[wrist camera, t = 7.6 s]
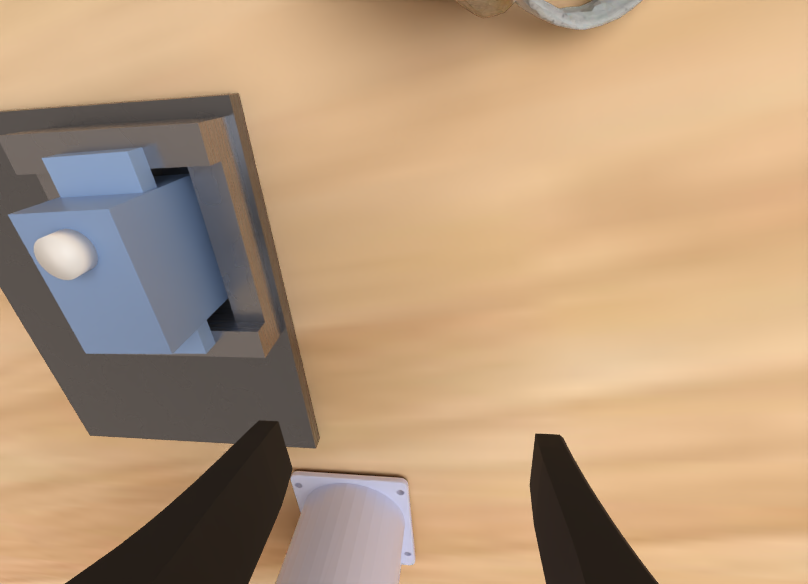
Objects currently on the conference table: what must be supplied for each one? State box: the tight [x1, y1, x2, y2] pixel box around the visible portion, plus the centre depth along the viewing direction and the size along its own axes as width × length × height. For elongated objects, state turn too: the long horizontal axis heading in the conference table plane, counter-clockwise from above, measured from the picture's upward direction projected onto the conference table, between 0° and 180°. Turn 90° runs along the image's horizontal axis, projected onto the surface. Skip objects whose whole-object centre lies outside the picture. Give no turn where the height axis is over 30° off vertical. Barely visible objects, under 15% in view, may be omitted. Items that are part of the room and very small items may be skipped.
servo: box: [8, 147, 228, 354], centre depth 17 cm, size 9×4×6 cm, turn 5°
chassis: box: [0, 93, 320, 448], centre depth 22 cm, size 20×16×3 cm
